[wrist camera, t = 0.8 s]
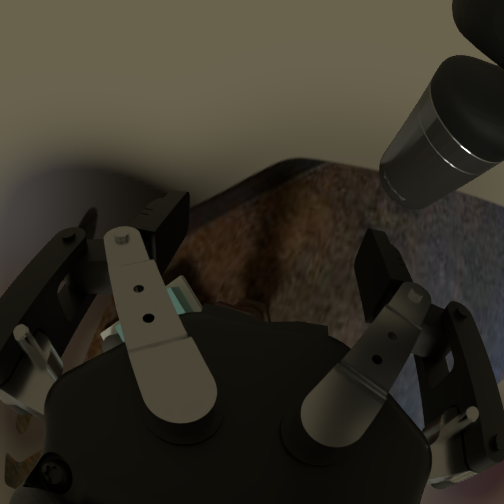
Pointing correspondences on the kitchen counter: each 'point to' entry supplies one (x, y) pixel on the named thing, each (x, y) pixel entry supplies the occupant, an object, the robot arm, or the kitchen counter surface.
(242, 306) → the bolt
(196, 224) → the kitchen counter surface
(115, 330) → the chassis bay
